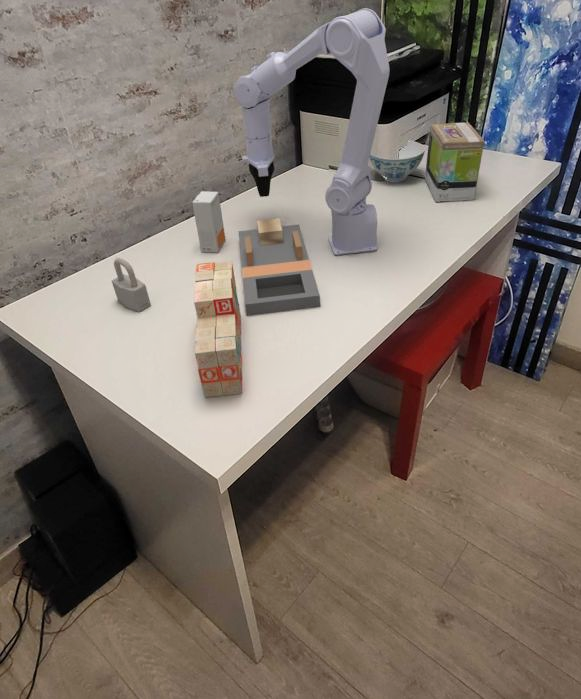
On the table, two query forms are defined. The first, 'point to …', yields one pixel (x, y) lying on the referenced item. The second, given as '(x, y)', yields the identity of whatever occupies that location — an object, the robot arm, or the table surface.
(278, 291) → the tunnel deck
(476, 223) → the table surface
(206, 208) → the skincare box
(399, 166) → the chinaware
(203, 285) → the stack of blocks
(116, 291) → the padlock
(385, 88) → the robot arm
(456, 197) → the tea box
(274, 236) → the birch block
